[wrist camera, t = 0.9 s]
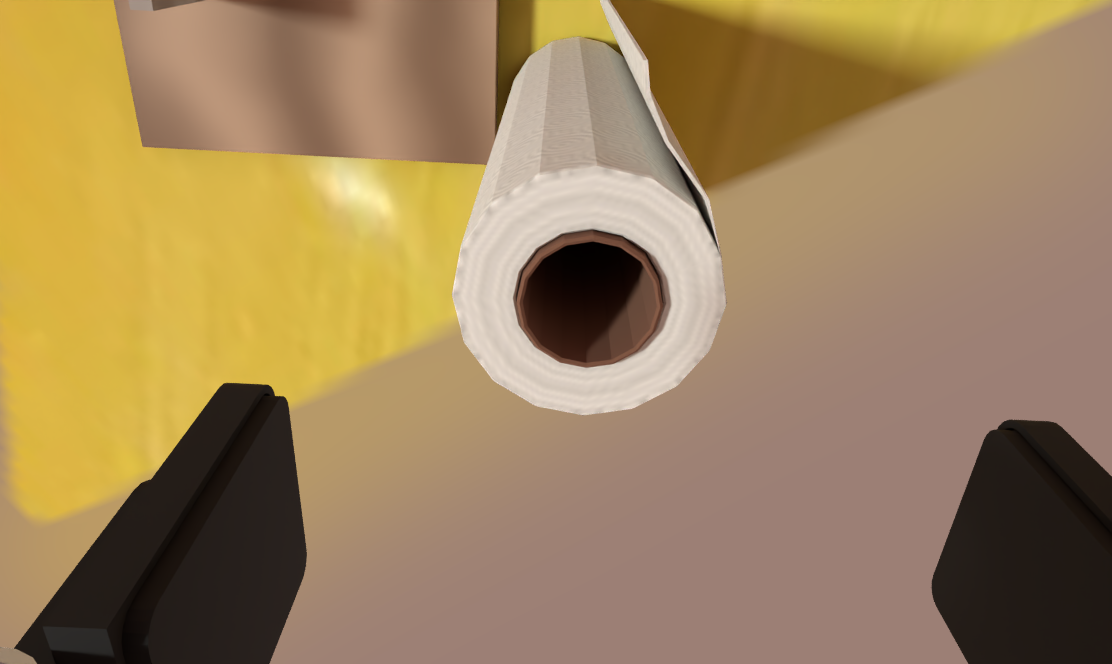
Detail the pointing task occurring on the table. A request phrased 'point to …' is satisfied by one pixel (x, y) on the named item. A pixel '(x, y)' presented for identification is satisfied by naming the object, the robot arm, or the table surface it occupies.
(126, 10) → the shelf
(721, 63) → the table surface
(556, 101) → the paper towel roll
